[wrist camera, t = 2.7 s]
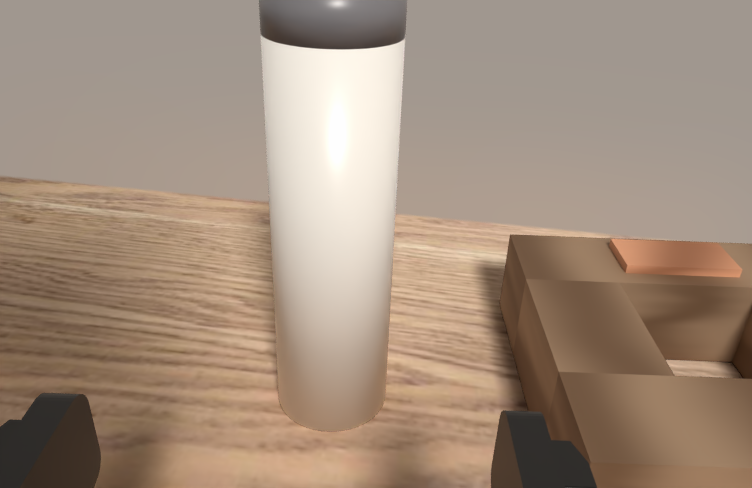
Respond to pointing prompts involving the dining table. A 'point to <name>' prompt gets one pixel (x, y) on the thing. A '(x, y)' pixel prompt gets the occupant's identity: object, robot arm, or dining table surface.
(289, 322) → the plug
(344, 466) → the dining table surface
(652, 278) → the socket block
